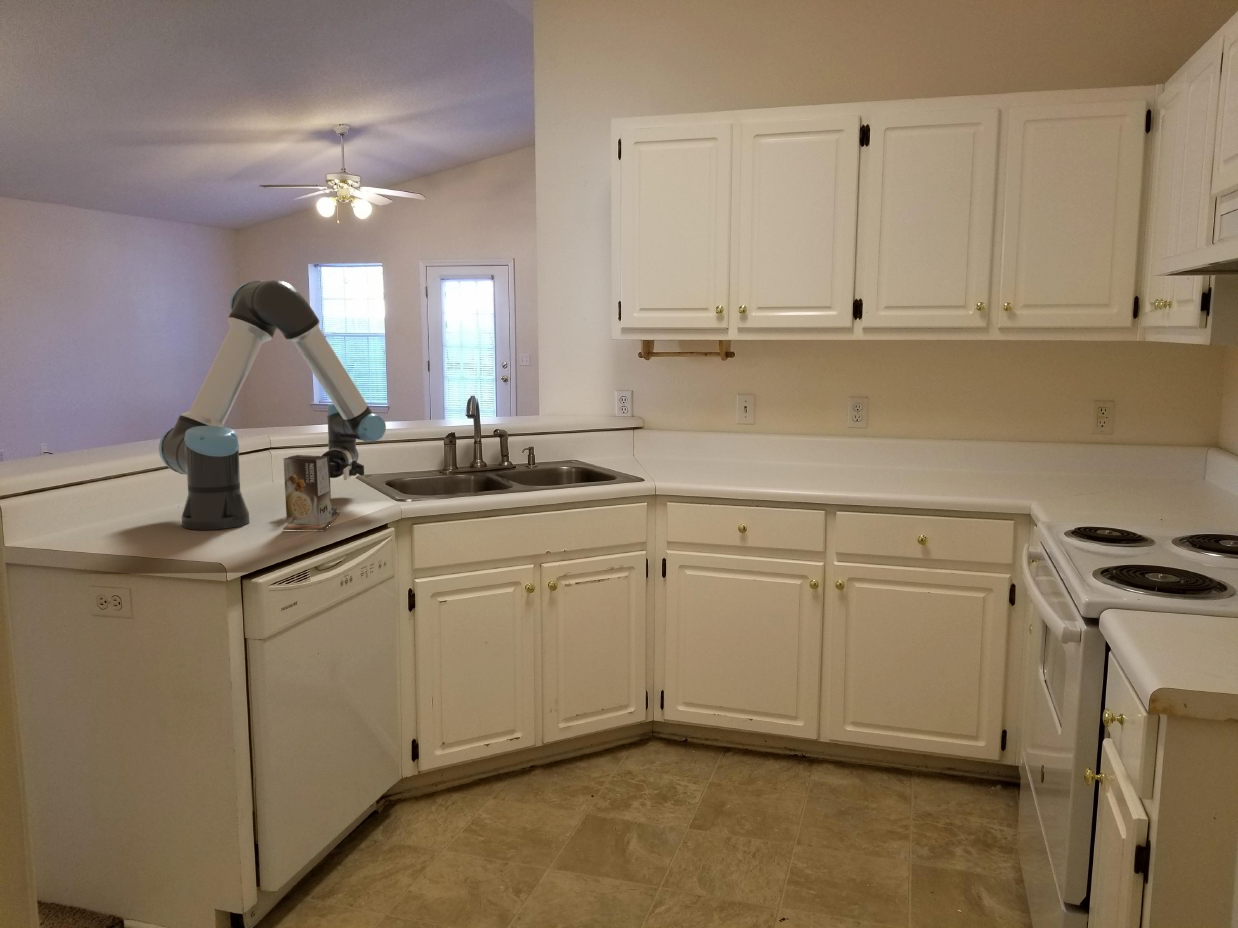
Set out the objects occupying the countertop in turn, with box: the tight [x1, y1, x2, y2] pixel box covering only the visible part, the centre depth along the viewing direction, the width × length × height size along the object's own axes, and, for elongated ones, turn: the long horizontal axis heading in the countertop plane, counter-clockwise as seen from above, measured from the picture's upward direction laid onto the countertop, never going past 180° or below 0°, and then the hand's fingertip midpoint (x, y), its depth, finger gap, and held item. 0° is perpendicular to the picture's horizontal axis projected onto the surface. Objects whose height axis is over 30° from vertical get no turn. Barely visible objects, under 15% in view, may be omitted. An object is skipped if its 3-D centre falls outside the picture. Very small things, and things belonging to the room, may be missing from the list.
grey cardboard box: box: [283, 454, 332, 525], centre depth 217 cm, size 9×6×16 cm
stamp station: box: [282, 507, 342, 531], centre depth 222 cm, size 10×18×2 cm, turn 6°
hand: (317, 474), depth 227 cm, fingers open, 13 cm apart
